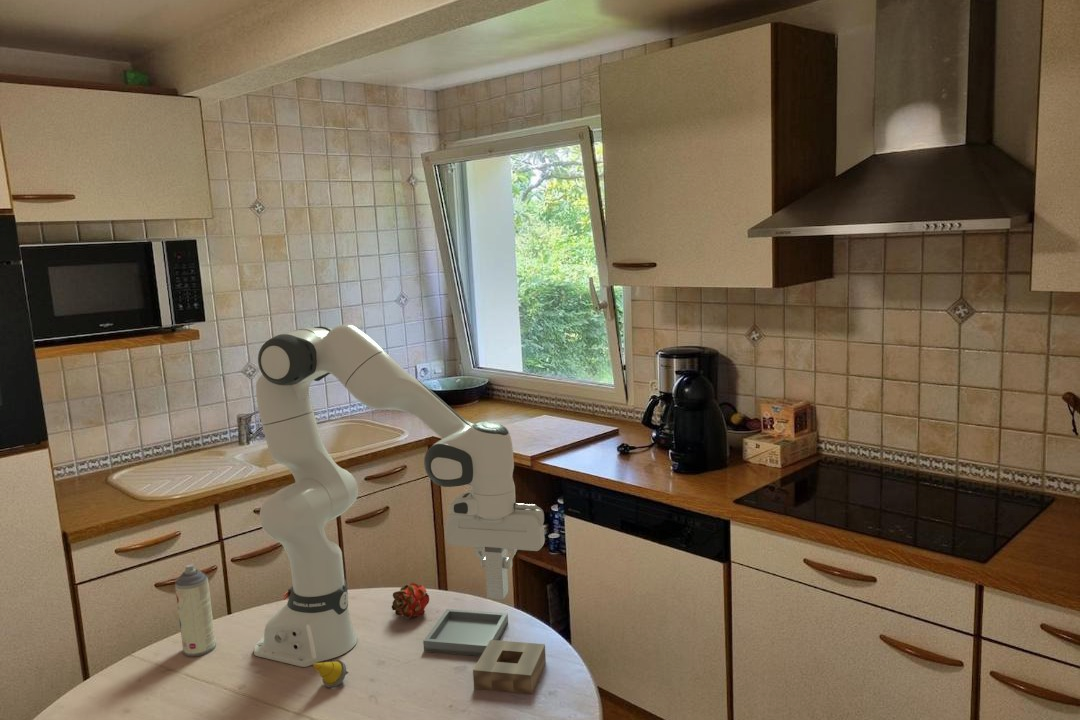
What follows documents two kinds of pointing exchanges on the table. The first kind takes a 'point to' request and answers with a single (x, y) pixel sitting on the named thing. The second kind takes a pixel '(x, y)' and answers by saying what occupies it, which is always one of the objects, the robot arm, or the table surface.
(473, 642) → the tray
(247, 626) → the table surface
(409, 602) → the dragon fruit
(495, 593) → the metal pin
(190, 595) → the aerosol can
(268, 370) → the robot arm
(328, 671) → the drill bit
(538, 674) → the hitch block
